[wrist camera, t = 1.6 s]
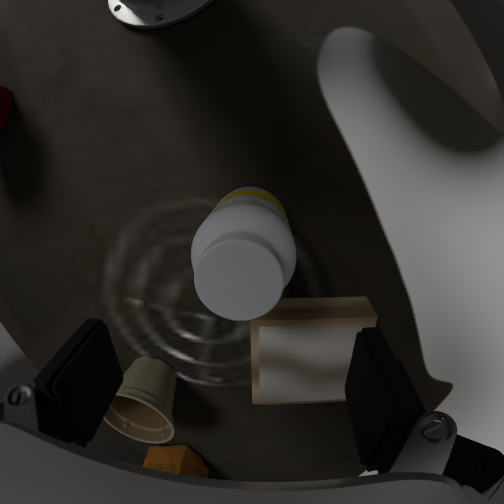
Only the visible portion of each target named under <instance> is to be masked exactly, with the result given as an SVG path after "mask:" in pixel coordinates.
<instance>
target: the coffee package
mask: <svg viewBox="0 0 504 504" xmlns="http://www.w3.org/2000/svg"><path fill="white" fill-rule="evenodd" d="M143 467H146V468H150V469H155V470H159V471H164V472H170V473H175V474H181V475H187V476H194V477H201V478H207V477H208V471H209V468H208V467H206V466H205V465H204V463H203V460H202V458H201V456H200V455H199V454H197V453H196V452H194V451H193V450H191V449H190V448H189V447H188V446H186V445H177V446H166V447H164V446H158V445H155V446H150V447H149V449H148V452H147V456H146V458H145V460H144V464H143Z"/></svg>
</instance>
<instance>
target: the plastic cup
mask: <svg viewBox="0 0 504 504" xmlns="http://www.w3.org/2000/svg"><path fill="white" fill-rule="evenodd" d="M12 105H13V98H12V93H11V91H10V90H9V89H7V88H6V87H4V86H1V85H0V129H1V128H2V127H3V126H4V125H5V124H6V122H7V121H8V119H9V116H10V114H11V111H12Z"/></svg>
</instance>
